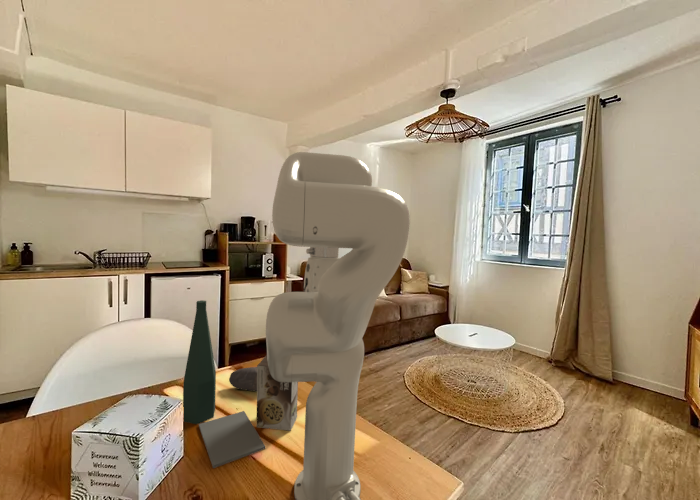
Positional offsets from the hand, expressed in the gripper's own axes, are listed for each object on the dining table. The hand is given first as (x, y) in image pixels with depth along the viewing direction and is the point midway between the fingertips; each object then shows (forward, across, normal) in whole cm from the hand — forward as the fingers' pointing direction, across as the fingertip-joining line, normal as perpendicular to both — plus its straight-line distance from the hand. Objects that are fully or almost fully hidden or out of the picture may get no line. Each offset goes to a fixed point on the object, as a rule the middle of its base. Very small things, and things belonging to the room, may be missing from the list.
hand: (321, 319), depth 86 cm
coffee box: (+25, -12, 0) cm, 28 cm away
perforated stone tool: (+25, -12, +19) cm, 34 cm away
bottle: (+25, -28, +13) cm, 40 cm away
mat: (+25, -24, 0) cm, 34 cm away
